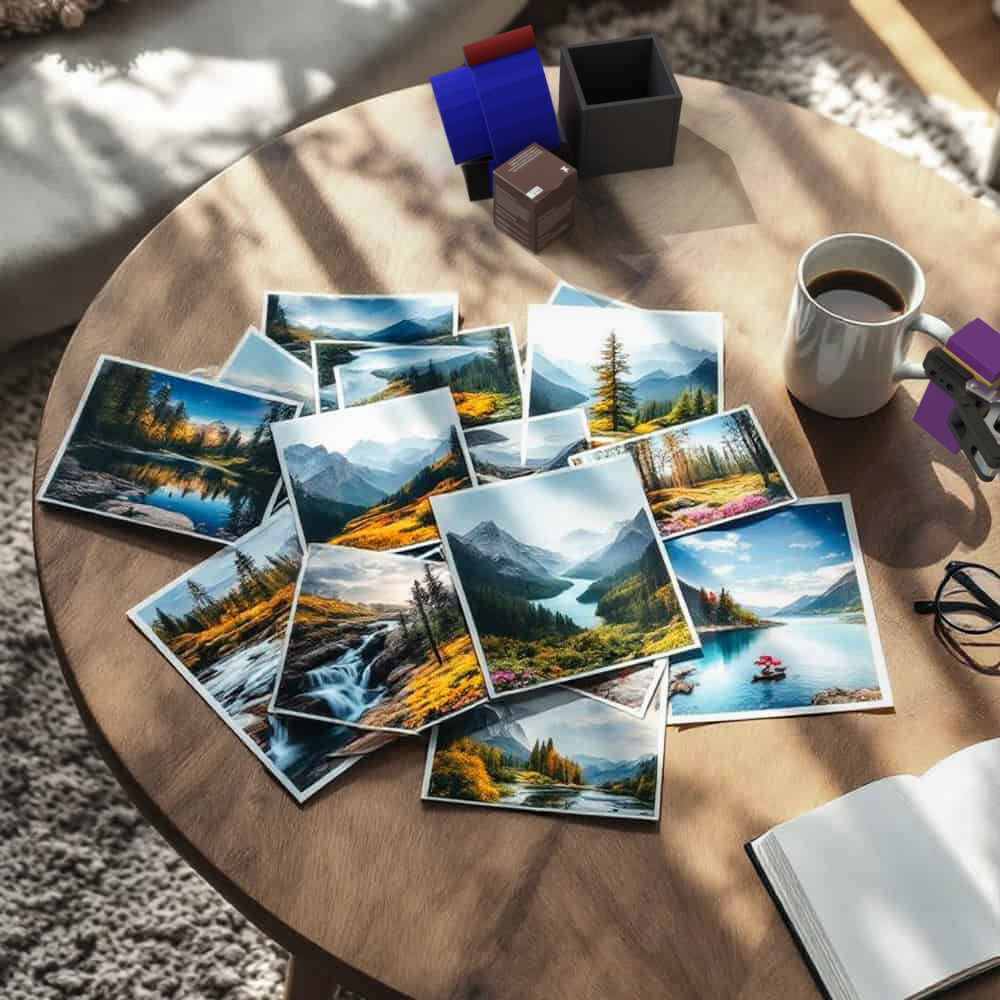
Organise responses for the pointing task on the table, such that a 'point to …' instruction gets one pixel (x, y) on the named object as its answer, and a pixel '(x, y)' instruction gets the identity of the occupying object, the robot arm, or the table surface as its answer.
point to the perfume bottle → (980, 353)
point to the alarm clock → (495, 106)
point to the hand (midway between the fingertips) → (946, 343)
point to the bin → (618, 105)
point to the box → (534, 197)
